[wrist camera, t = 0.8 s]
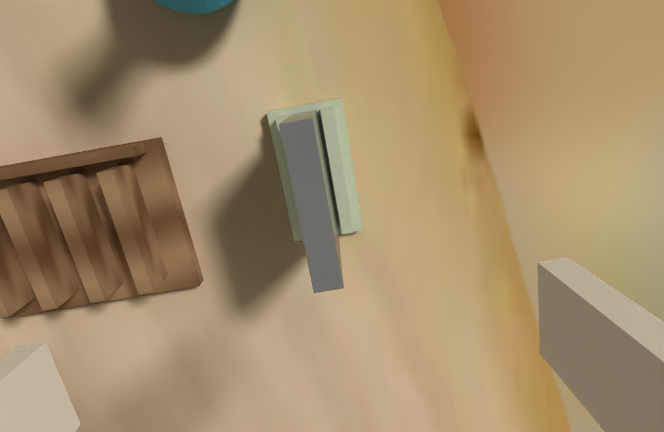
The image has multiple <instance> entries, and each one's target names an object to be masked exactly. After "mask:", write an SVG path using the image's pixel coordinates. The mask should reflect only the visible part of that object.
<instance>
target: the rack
mask: <svg viewBox="0 0 664 432" xmlns="http://www.w3.org/2000/svg"><path fill="white" fill-rule="evenodd" d="M202 281H203V277H202V273H201V270H200V267H199V263H198V260H197V256H196V253H195V250H194V246H193V243H192V239H191V236H190V233H189V229H188V226H187V222H186V219H185V216H184V212H183V209H182V205H181V202H180V199H179V195H178V192H177V188H176V185H175V182H174V178H173V175H172V171H171V168H170V165H169V161H168V158H167V154H166V151H165V148H164V144H163V141H162V137H160V138H154V139H149V140H143V141H138V142H132V143H127V144H121V145H116V146H110V147H105V148H99V149H94V150H88V151H83V152H77V153H72V154H66V155H61V156H55V157H49V158H44V159H38V160H33V161H27V162H22V163H16V164H11V165H5V166H0V318H4V319H5V318H11V317H17V316H23V315H29V314H35V313H41V312H47V311H52V310H58V309H64V308H70V307H76V306H82V305H88V304H94V303H100V302H106V301H112V300H118V299H124V298H130V297H136V296H142V295H148V294H154V293H160V292H166V291H172V290H178V289H184V288H190V287H196V286H200V284H201V283H202Z"/></svg>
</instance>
